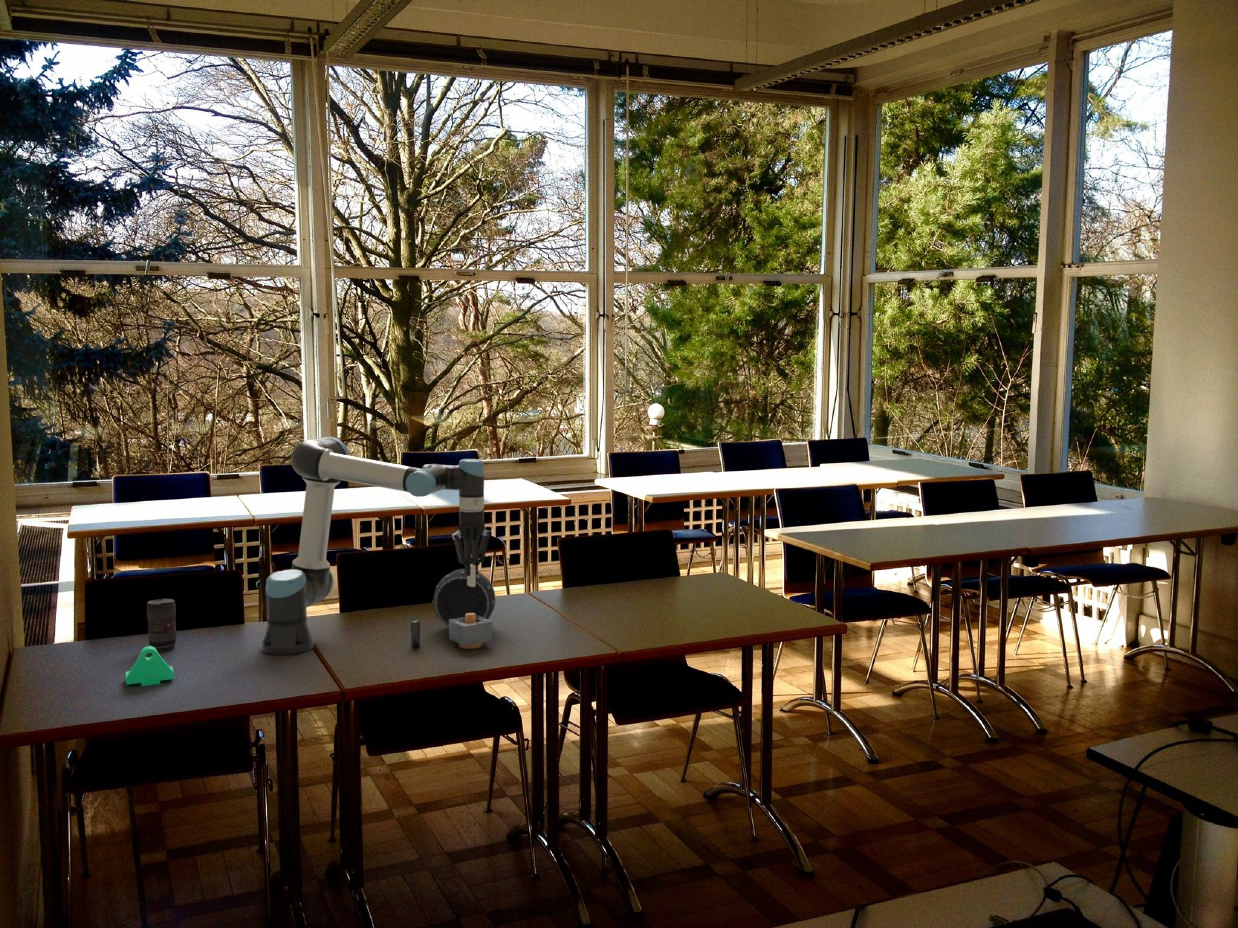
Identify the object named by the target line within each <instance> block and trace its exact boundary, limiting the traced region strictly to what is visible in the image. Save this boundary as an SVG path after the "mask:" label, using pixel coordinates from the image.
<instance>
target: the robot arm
mask: <svg viewBox="0 0 1238 928" xmlns="http://www.w3.org/2000/svg"><path fill="white" fill-rule="evenodd" d="M458 463H459V464H458V465H451V464H450V465H449V464H448V465H447V464H437V463H432V464H431V463H429V464H424V465H423V466H422V467H421V468H419V467H414V466H413V467H412V466H406V465H402V464H396V463H391V462H386V461H385V462H384V461H379V460H375V459H370V458H369V459H368V458H363V457H358V456H353V455H350V453H349V449H348V447H347V446H346V444H345V443H344V442H343V441H342V440H340V439H339V438H337V437H335V436H334V437H333V436H321V437H317V438H312V439H307V440H303V441H301V442H299V443H298V444H297V445H295V447H294V448H293V449H292V451H291V454H290V464H291V466H292V469H293V470H294V471H295V473H296V474H298V475H299V476H301V478H302V480H303V481H304V482H305V483H306V487H305V495H304V504H303V511H302V512H303V513H302V521H301V529H300V530H301V531H300V538H299V546H298V555H297V557H296V558H294V559H293V560H292V563H291V569H283V570H282V571H276V572H273V573H272V574H270V575H269V576H268V577H267V578H266V580H265V581H266V582H265V583H266V585H265V597H266V599H265V600H266V622H267V623H266V624H267V625H266V629H265V632H264V635H263V638H262V642H261V649H262V652H263V653H265V654H270V655H277V656H285V655H295V654H296V655H297V654H301V653H305V652H307V651H309V650H312V649H313V648H314V638H313V635H312V633H311V629H310V626H309V624H308V618H307V617H308V616H307V614H308V612H307V610H308V609H307V608H308V607H310V606H312V605H315V604H318V603H320V602H322V601H323V600H324V599H325V598H327V597H329V595H330V594H331V592H332V591H333V587H334V584H335V583H334V582H335V581H334V580H335V579H334V576H333V575H334V574H333V573H332V572H331V569H330V567H331V564H330V562H329V561H328V560H327V553H328V552H327V551H328V545H329V538H330V537H329V535H330V530H331V529H330V527H331V520H332V513H333V503H334V495H335V487H336V486H338V485H339V484H340V483H341V481H343V482H350V483H355V484H361V485H367V486H372V487H378V488H383V489H388V490H389V489H390V490H395V491H400V492H405V493H409V494H410V495H412V496H413V497H416V498H417V497H418V498H420V497H422V498H423V497H427V496H429V495H430V494H431V495H432V494H433V493H436V492H439V491H441V490H447V491H451V490H452V491H458V493H459V494H458V498H459V499H458V501H459V502H458V508H459V511H458V513H459V514H458V518H459V519H458V522H459V526H458V527H457V531H456V532H454V533H451V534H450V537H451V538H452V540H453V541H454V547H455V551H456V556H457V560H458V563H459V564H461V565H464V569H465V575H466V576H467V585H468V586H470V587H474V586H475V577H476V575H477V574H478V572H479V565H481V563H484V562H485V557H486V552H487V549H488V543H489V539H490V537H491V536H492V533H493V532H492V531H490V530H487V529H486V526H485V525H484V524H485V523H484V522H485V512H484V509H485V466H484V465H485V464H484V461H483V460H482V459H476V458H463V459H461V460H459V462H458ZM462 538H463V541H462V540H461V539H462ZM480 539H481V540H480ZM462 542H463V544H462Z"/></svg>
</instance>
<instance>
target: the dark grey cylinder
mask: <svg viewBox="0 0 1238 928" xmlns="http://www.w3.org/2000/svg"><path fill="white" fill-rule="evenodd" d="M176 607H177V605H176V601H175V600H174V599H171V598H159V599H158V598H157V599H152V600H149V601H147V604H146V616H147V629H148V631H147V634H148V635H147V638H148V639H147V640H148V644H149V645H148V646H152V647H154V648H156V650H157V652H158V653H163V652H168V651H171V650H174V649H175V648H176V647H175V646H176V645H175V644H176V643H177V629H176V628H177V627H176V626H177V624H176V615H177V609H176Z"/></svg>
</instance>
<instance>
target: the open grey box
mask: <svg viewBox="0 0 1238 928" xmlns="http://www.w3.org/2000/svg"><path fill="white" fill-rule="evenodd" d="M448 638H449V640H452V641H454V642H455V643H457V644H458V645H459V644H461V645H463V646H465V645H470V644H476V643H482V644H483V643H485V642H492V641H493V621H492V620H490V619H488V620H487V619H485V618H483V617H481V616H479V615H476V622H475V623H469V624H466V623H465V617H461V618H455V619H449V628H448Z"/></svg>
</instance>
